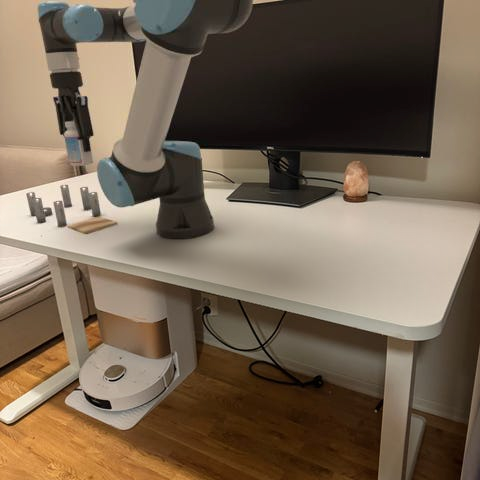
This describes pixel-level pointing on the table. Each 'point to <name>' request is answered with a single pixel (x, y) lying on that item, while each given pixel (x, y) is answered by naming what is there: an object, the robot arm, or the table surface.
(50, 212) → the steel nut
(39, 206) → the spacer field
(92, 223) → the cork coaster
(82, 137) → the robot arm
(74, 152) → the pill bottle
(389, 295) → the table surface
